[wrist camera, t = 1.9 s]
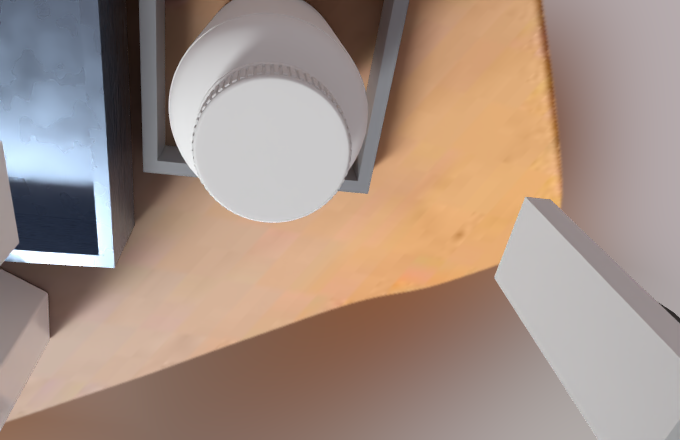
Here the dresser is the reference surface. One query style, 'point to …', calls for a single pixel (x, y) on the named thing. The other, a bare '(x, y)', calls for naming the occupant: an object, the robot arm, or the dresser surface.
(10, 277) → the jar
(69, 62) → the bin
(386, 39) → the frame
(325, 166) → the pill bottle
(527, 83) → the dresser surface
